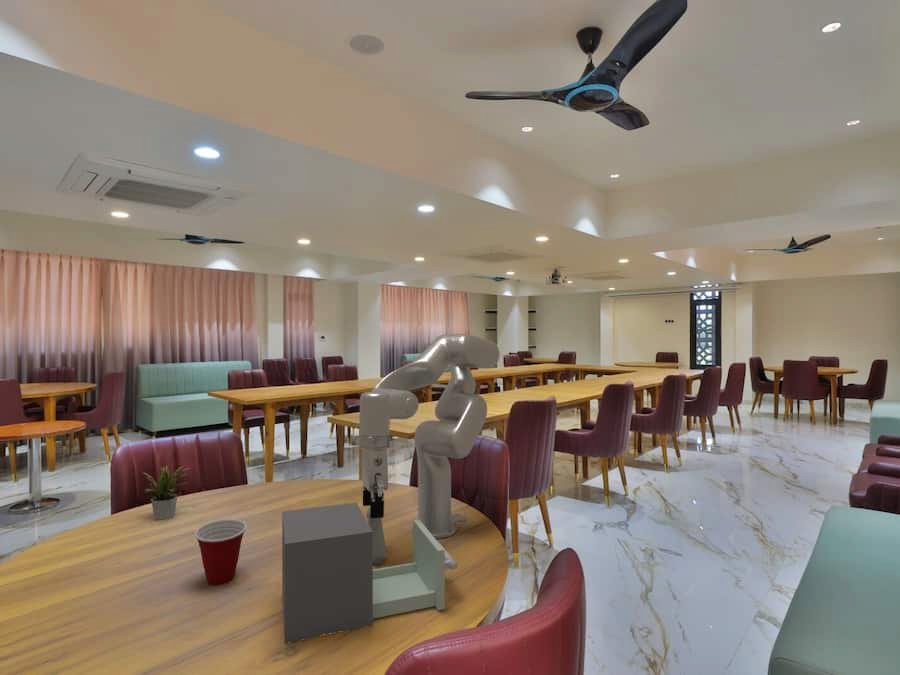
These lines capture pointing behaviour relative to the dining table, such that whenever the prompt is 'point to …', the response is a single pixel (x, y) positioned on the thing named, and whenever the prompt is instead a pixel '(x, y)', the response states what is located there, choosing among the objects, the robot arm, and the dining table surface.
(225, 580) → the plastic cup
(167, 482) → the house plant
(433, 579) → the drawer
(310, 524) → the cabinet
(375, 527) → the salt shaker
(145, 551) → the dining table surface
